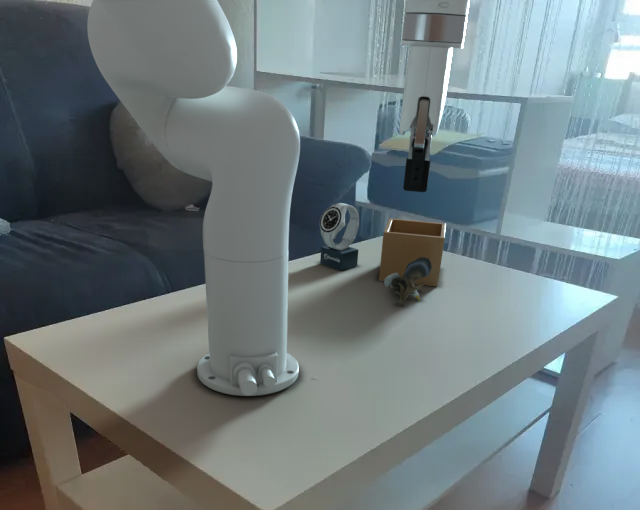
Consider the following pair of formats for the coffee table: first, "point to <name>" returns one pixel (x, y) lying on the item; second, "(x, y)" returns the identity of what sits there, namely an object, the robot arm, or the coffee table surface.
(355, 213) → the watch
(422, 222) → the box
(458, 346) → the coffee table surface
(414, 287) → the eagle figurine
